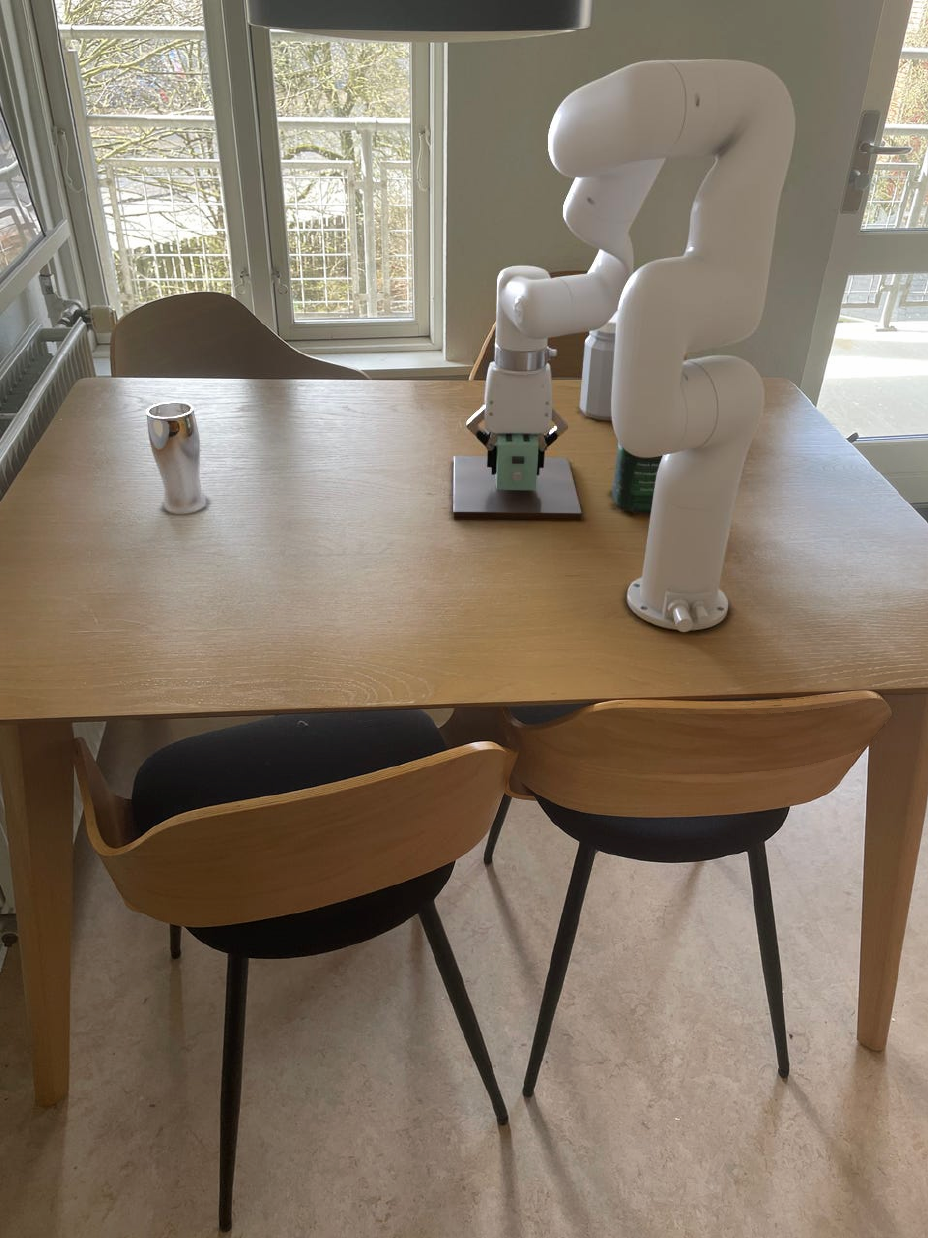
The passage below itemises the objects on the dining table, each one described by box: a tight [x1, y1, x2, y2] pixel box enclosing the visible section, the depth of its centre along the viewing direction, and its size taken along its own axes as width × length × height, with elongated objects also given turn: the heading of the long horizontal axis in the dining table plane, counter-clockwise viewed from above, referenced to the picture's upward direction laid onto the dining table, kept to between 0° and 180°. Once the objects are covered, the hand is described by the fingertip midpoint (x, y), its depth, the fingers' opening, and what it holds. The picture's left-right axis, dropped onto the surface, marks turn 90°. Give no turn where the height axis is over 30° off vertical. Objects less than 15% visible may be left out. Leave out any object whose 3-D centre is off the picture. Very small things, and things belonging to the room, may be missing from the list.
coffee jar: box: [611, 440, 663, 515], centre depth 138 cm, size 10×8×19 cm
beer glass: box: [145, 401, 207, 515], centre depth 136 cm, size 7×7×15 cm
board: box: [453, 455, 583, 521], centre depth 146 cm, size 21×19×1 cm
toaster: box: [495, 434, 539, 490], centre depth 142 cm, size 10×6×8 cm, turn 0°
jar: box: [579, 310, 618, 421], centre depth 171 cm, size 10×10×18 cm
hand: (514, 470), depth 144 cm, fingers closed on toaster, 6 cm apart
